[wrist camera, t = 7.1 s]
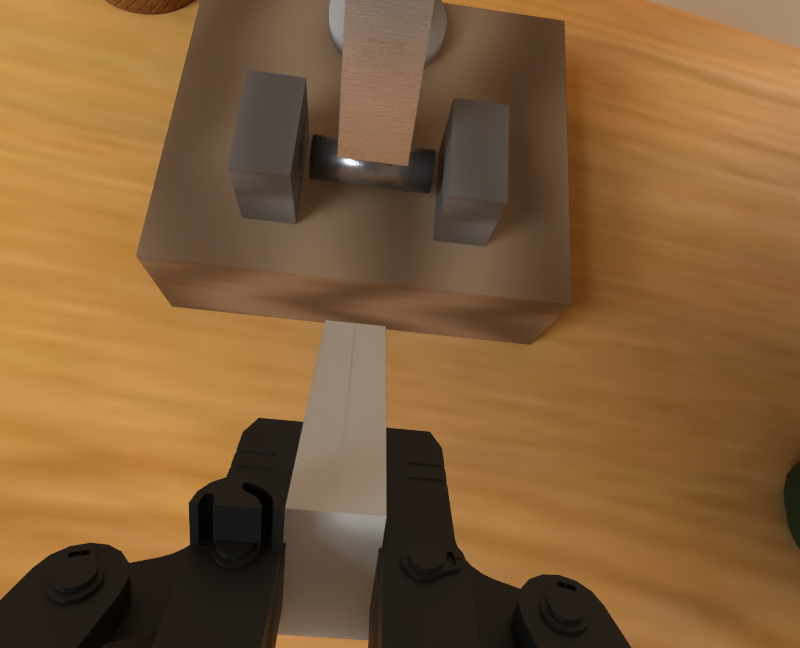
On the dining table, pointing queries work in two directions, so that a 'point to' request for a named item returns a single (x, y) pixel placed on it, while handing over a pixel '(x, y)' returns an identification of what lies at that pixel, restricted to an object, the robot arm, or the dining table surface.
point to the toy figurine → (793, 502)
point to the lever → (379, 99)
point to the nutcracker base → (360, 205)
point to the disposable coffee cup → (148, 5)
